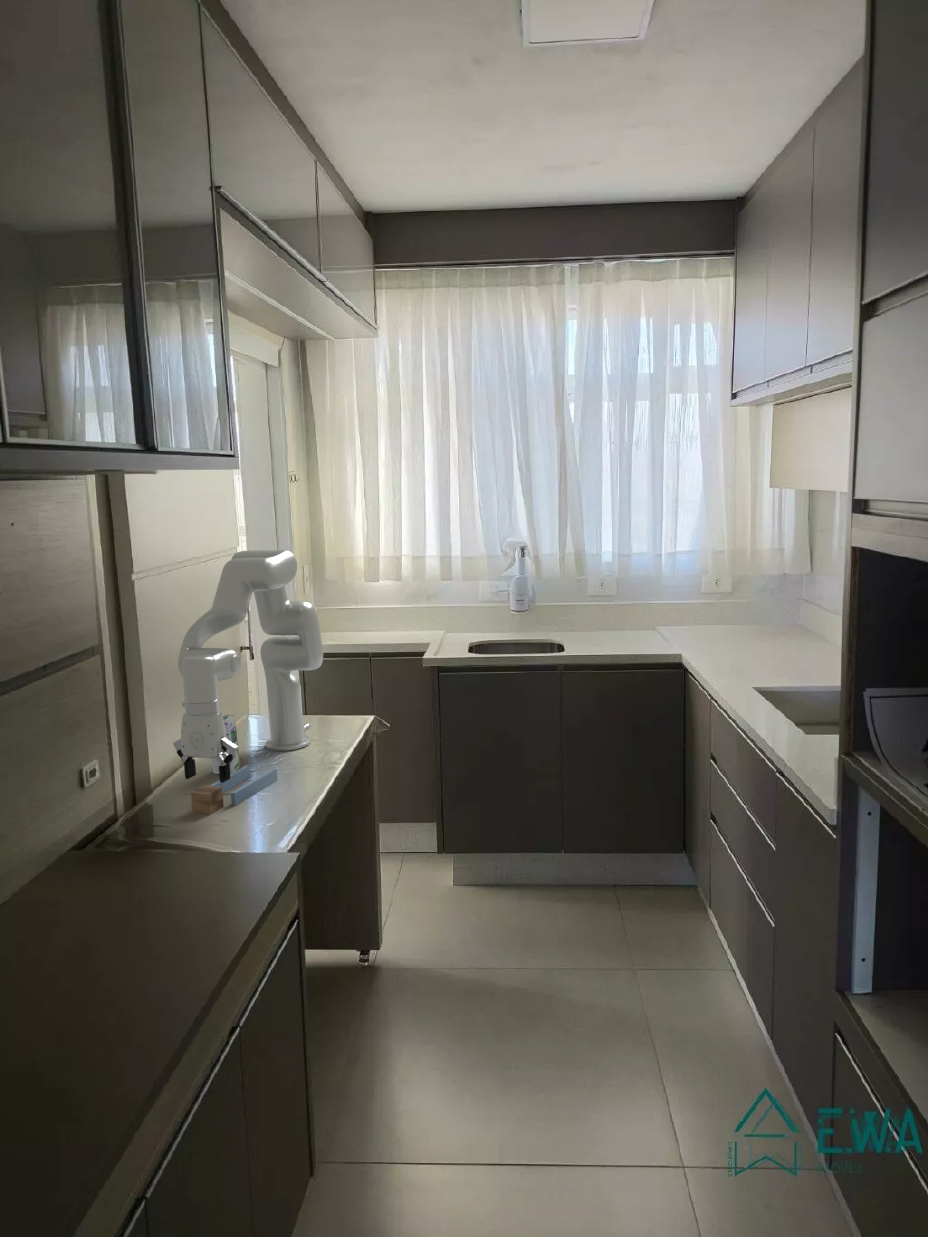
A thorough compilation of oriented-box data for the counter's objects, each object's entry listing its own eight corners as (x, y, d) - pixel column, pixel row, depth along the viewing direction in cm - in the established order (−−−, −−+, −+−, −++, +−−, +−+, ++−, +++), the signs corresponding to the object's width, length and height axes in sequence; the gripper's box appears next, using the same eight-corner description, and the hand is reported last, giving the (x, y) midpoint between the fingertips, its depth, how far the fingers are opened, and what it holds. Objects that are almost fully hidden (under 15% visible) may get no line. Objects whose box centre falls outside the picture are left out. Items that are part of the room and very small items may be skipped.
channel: (246, 776, 232) (245, 765, 232) (277, 780, 229) (276, 768, 229) (202, 801, 216) (201, 789, 215) (235, 805, 212) (234, 793, 212)
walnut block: (206, 805, 214) (204, 785, 213) (223, 807, 212) (222, 787, 211) (192, 812, 209) (191, 792, 208) (210, 815, 207) (208, 794, 207)
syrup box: (234, 773, 235) (230, 720, 233) (212, 774, 235) (207, 721, 233) (240, 766, 241) (236, 714, 238) (218, 767, 241) (214, 715, 239)
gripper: (161, 709, 207) (167, 781, 209) (223, 713, 201) (229, 787, 203) (182, 702, 214) (187, 771, 216) (243, 706, 208) (248, 777, 210)
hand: (207, 779), depth 210 cm, fingers open, 9 cm apart
